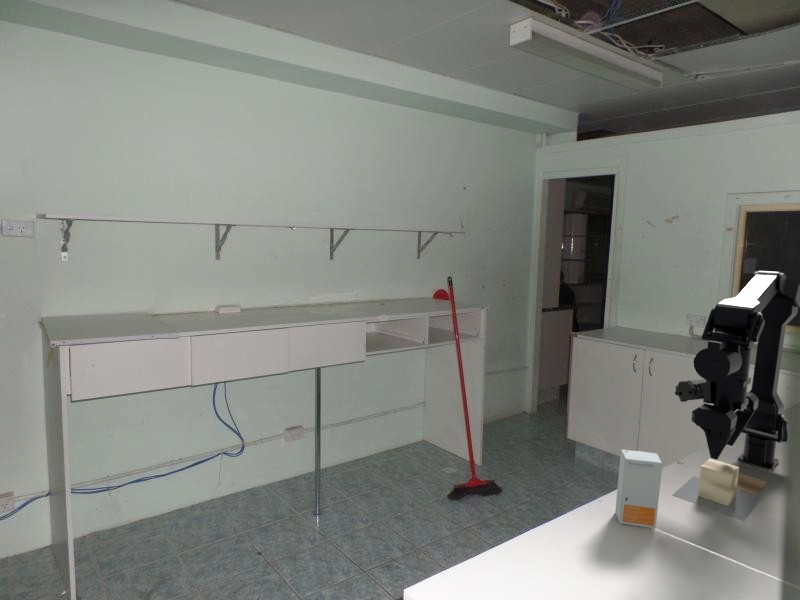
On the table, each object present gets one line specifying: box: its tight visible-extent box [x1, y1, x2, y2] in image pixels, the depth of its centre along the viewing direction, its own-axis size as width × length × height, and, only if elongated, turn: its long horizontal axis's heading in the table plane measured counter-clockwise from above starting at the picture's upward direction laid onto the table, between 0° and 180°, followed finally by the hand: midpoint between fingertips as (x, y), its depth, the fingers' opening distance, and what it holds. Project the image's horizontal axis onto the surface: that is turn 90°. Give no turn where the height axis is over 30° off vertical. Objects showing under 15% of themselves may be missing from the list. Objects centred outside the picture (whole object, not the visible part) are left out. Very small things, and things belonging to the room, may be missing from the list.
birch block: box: [698, 458, 740, 506], centre depth 100 cm, size 5×5×6 cm
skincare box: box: [615, 449, 663, 530], centre depth 91 cm, size 6×4×12 cm
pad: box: [737, 472, 768, 496], centre depth 107 cm, size 8×8×1 cm
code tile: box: [671, 475, 763, 522], centre depth 101 cm, size 12×12×1 cm
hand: (721, 451), depth 100 cm, fingers open, 9 cm apart
